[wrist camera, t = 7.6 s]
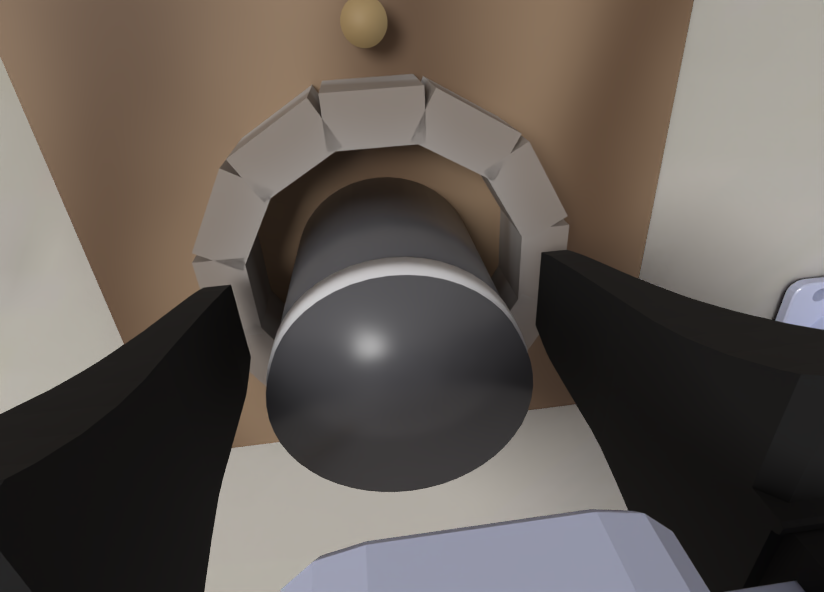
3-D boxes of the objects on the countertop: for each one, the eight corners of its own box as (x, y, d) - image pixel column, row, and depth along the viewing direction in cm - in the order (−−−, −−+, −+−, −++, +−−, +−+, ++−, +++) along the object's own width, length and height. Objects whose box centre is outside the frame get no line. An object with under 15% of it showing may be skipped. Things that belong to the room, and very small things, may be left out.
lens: (471, 166, 13) (543, 266, 8) (473, 324, 16) (529, 476, 11) (279, 185, 13) (230, 302, 8) (313, 343, 16) (293, 507, 11)
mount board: (685, -59, 12) (769, -75, 10) (604, 385, 19) (642, 439, 17) (-8, -18, 11) (-108, -24, 9) (178, 438, 18) (153, 504, 16)
